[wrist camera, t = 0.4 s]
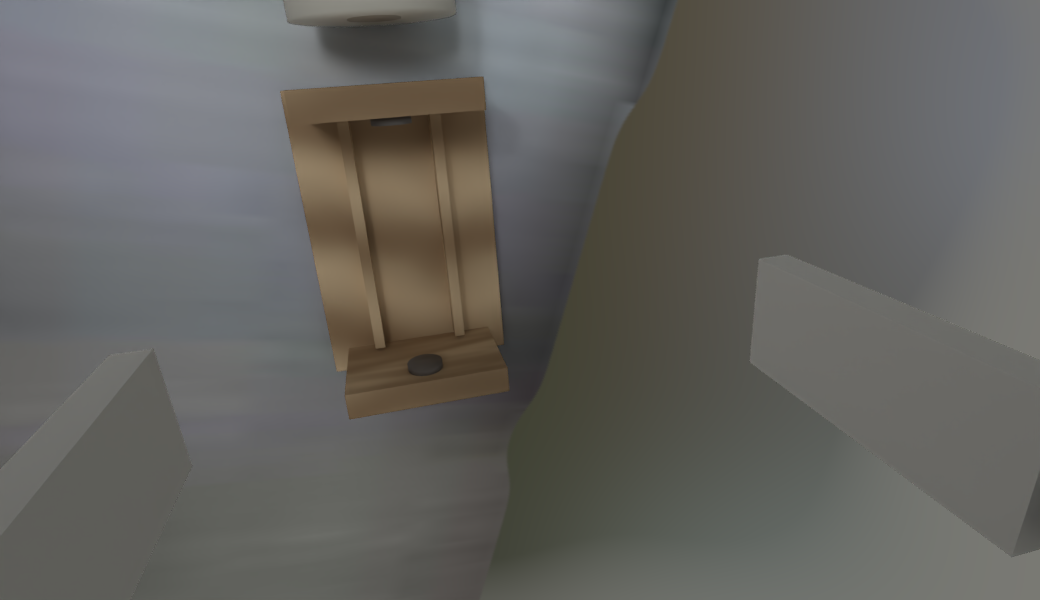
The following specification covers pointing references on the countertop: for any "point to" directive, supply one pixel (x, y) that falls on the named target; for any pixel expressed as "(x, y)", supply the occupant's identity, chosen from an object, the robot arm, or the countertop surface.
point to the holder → (402, 238)
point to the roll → (365, 12)
